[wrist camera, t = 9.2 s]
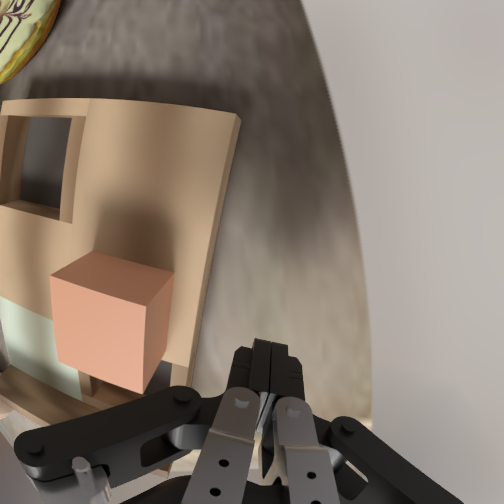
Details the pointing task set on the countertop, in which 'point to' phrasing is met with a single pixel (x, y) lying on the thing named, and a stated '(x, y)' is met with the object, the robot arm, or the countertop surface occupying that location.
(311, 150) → the countertop surface
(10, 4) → the decorated donut
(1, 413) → the garlic bulb
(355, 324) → the countertop surface
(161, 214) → the board
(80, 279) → the block
